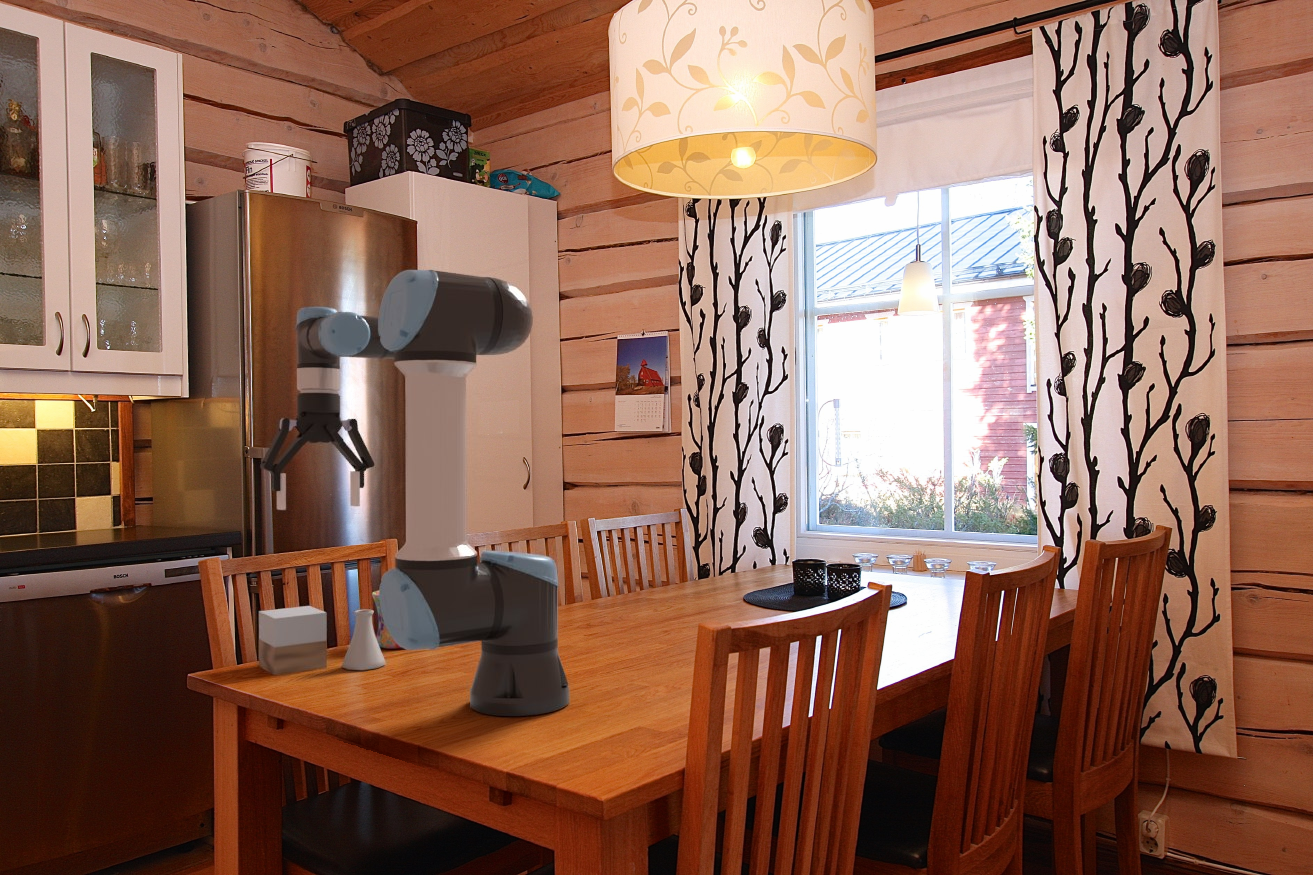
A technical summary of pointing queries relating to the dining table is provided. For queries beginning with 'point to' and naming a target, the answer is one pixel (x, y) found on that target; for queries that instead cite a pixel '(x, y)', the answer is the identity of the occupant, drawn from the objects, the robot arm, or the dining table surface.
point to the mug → (383, 628)
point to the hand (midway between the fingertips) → (319, 507)
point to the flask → (363, 645)
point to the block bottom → (292, 657)
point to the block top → (292, 626)
